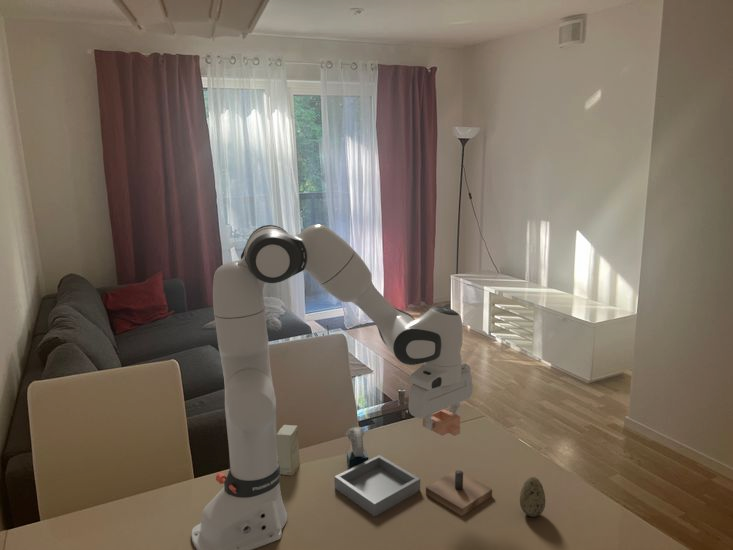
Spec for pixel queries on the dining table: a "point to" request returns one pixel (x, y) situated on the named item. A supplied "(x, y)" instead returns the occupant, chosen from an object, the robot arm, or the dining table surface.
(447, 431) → the ring
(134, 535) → the dining table surface
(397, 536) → the dining table surface
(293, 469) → the skincare box
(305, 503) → the dining table surface
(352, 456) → the watch
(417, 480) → the tray
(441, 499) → the base
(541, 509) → the decorative egg
